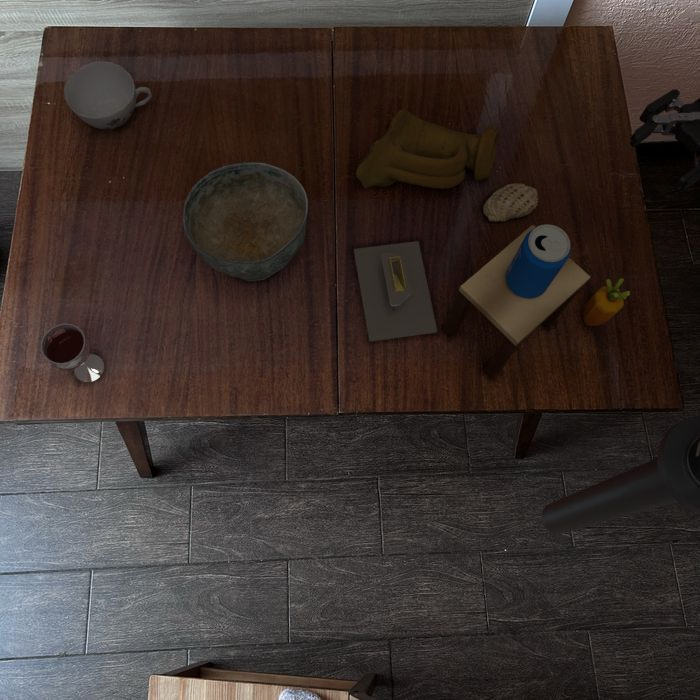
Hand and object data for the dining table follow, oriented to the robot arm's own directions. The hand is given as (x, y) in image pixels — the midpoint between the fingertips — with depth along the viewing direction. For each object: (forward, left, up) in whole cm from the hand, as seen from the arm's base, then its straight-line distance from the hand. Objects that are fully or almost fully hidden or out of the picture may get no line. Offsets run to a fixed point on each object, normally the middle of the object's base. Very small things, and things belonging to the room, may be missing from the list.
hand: (655, 163), depth 95 cm
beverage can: (+2, +19, -14) cm, 24 cm away
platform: (+19, +28, -32) cm, 46 cm away
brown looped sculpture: (+33, +7, -32) cm, 46 cm away
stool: (+2, +19, -32) cm, 37 cm away
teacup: (+81, +43, -32) cm, 97 cm away
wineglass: (+42, +77, -32) cm, 93 cm away
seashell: (+17, +1, -32) cm, 36 cm away
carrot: (-8, +7, -32) cm, 34 cm away
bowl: (+41, +42, -32) cm, 67 cm away
